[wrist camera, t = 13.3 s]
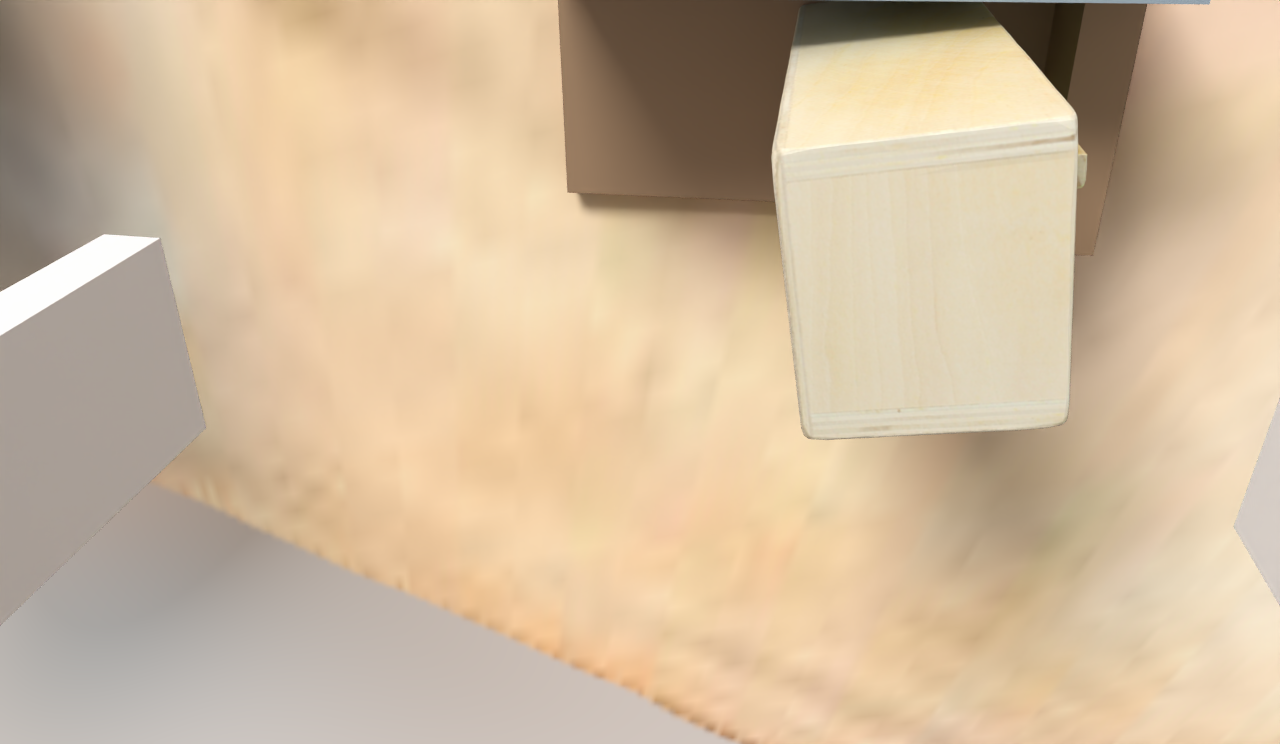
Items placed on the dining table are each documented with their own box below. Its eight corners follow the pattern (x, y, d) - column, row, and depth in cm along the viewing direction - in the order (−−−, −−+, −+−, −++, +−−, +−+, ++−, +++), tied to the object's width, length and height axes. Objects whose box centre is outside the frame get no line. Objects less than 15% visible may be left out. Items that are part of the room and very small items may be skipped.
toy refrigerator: (989, 174, 42) (1100, 431, 24) (815, 192, 44) (794, 444, 26) (988, -24, 39) (1116, 100, 20) (798, 3, 40) (760, 142, 22)
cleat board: (573, 184, 47) (496, 283, 37) (560, -95, 41) (465, -72, 31) (1063, 205, 43) (1131, 321, 33) (1122, -98, 38) (1227, -73, 27)
